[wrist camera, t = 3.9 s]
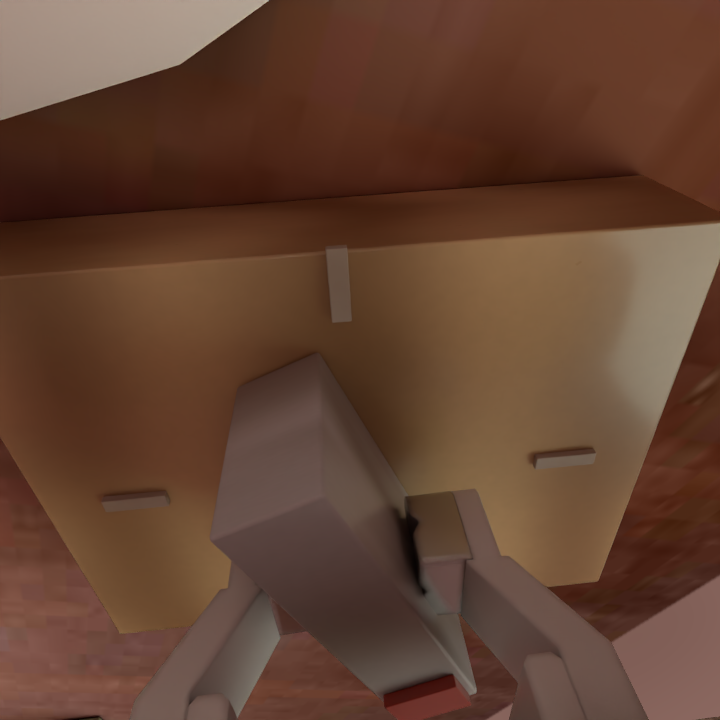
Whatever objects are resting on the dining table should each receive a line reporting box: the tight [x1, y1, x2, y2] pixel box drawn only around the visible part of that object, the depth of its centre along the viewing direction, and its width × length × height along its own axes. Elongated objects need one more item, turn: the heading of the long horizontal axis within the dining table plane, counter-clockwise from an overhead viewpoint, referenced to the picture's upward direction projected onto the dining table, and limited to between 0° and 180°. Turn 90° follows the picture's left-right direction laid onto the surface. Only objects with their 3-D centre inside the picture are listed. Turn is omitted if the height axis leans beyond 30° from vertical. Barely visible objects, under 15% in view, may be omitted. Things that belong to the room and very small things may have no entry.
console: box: [0, 175, 720, 634], centre depth 13 cm, size 14×11×3 cm
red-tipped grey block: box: [210, 353, 477, 720], centre depth 10 cm, size 7×2×4 cm, turn 25°
